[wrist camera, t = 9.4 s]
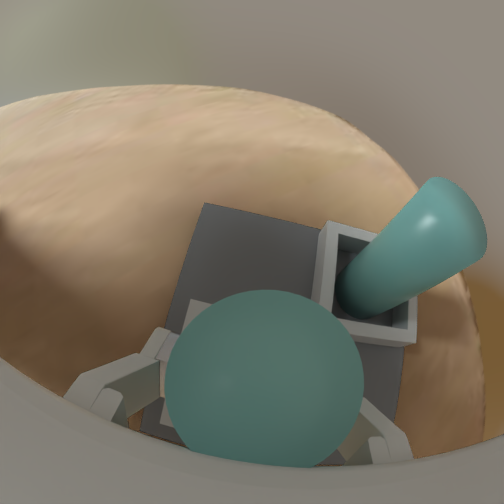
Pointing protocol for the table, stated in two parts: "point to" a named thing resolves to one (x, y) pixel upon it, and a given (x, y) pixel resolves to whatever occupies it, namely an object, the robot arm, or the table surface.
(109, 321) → the table surface
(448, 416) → the table surface
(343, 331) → the jaw peg
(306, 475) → the robot arm
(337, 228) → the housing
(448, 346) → the table surface
